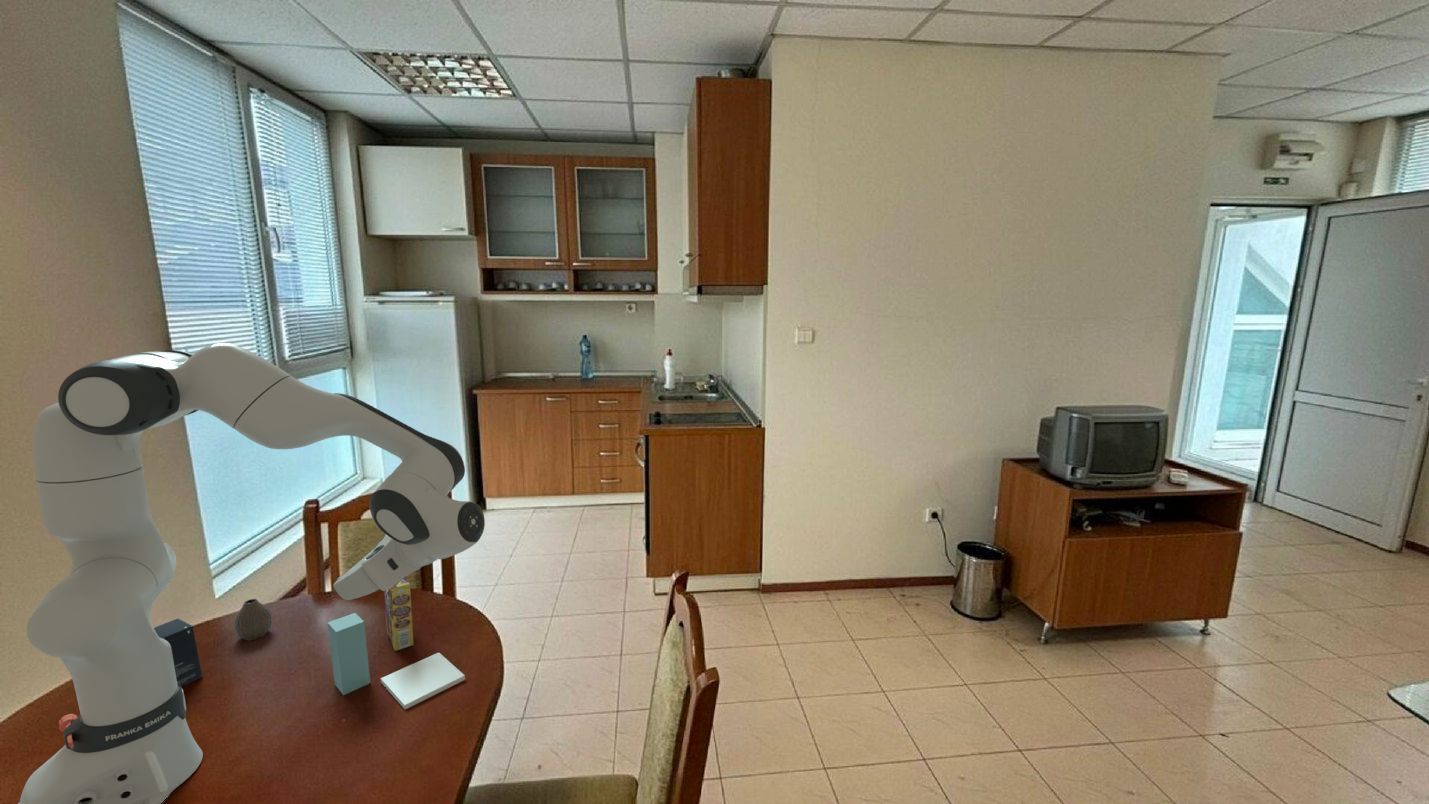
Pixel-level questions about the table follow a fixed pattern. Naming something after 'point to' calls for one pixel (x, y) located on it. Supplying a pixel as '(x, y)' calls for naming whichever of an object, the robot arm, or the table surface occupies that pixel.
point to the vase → (252, 620)
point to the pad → (422, 680)
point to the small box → (182, 649)
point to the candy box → (399, 615)
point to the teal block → (349, 653)
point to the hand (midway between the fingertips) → (360, 563)
